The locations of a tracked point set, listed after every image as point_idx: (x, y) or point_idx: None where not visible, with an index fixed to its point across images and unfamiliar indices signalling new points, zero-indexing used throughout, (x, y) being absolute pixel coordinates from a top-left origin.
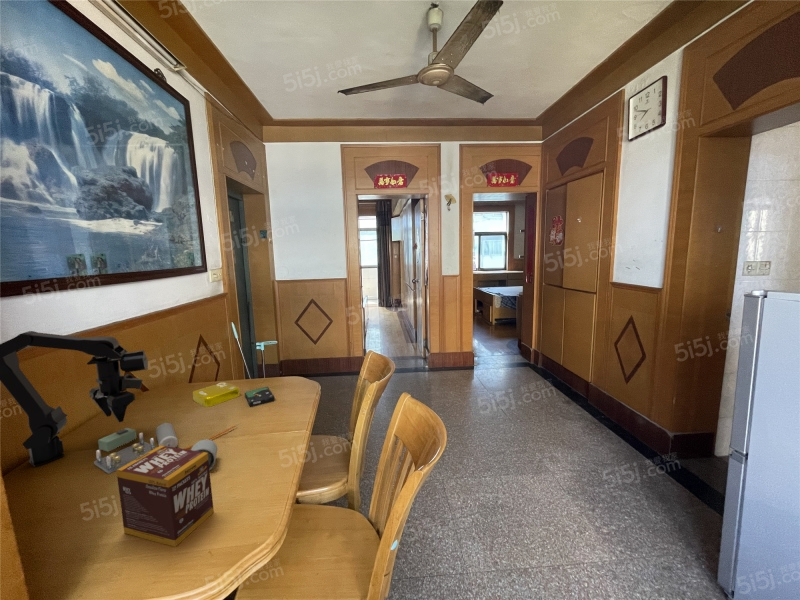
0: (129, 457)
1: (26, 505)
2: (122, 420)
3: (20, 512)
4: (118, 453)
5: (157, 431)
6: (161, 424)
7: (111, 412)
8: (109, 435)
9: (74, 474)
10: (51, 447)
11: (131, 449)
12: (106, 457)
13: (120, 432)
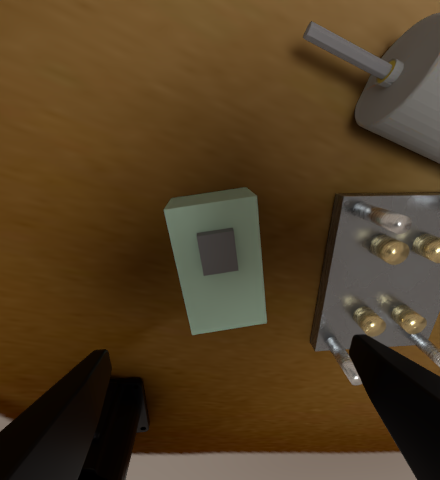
0: (423, 284)
1: (349, 445)
2: (369, 342)
3: (365, 451)
4: (347, 294)
5: (436, 139)
6: (433, 80)
7: (92, 368)
8: (188, 294)
9: (312, 380)
10: (126, 451)
11: (369, 257)
12: None
13: (230, 265)
